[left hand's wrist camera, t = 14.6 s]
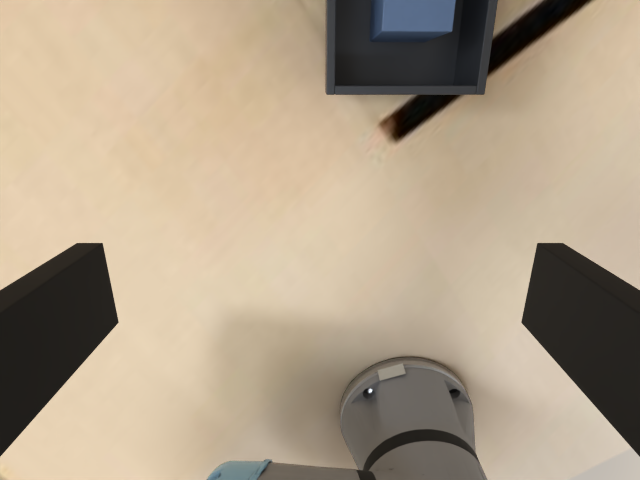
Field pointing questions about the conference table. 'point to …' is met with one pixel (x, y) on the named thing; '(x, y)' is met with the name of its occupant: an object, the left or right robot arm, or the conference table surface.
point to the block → (410, 20)
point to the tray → (407, 54)
